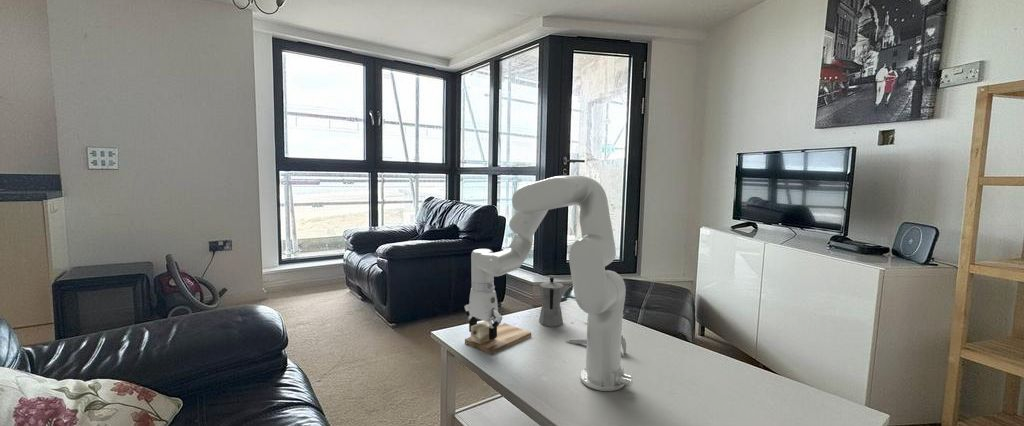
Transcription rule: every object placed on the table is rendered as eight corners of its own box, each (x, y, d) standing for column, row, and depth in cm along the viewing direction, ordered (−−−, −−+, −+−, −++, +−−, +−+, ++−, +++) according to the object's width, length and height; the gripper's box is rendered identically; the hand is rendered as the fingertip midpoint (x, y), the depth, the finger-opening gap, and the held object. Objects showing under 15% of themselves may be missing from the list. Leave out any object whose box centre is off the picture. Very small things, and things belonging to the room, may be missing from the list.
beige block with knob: (496, 337, 146) (496, 323, 145) (477, 345, 139) (477, 330, 139) (487, 333, 149) (487, 320, 148) (468, 341, 142) (468, 327, 142)
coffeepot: (539, 316, 171) (540, 272, 169) (562, 316, 170) (563, 273, 168) (538, 330, 156) (538, 283, 154) (563, 331, 155) (564, 284, 153)
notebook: (531, 336, 150) (531, 332, 150) (491, 354, 135) (491, 350, 135) (504, 327, 159) (504, 323, 159) (464, 343, 144) (464, 338, 144)
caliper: (625, 353, 138) (626, 335, 137) (625, 354, 137) (626, 336, 136) (566, 341, 147) (567, 324, 146) (565, 342, 146) (566, 325, 145)
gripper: (509, 288, 139) (508, 338, 141) (473, 279, 150) (473, 325, 152) (493, 293, 133) (493, 345, 135) (457, 283, 145) (457, 331, 147)
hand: (482, 334), depth 144 cm, fingers open, 9 cm apart
